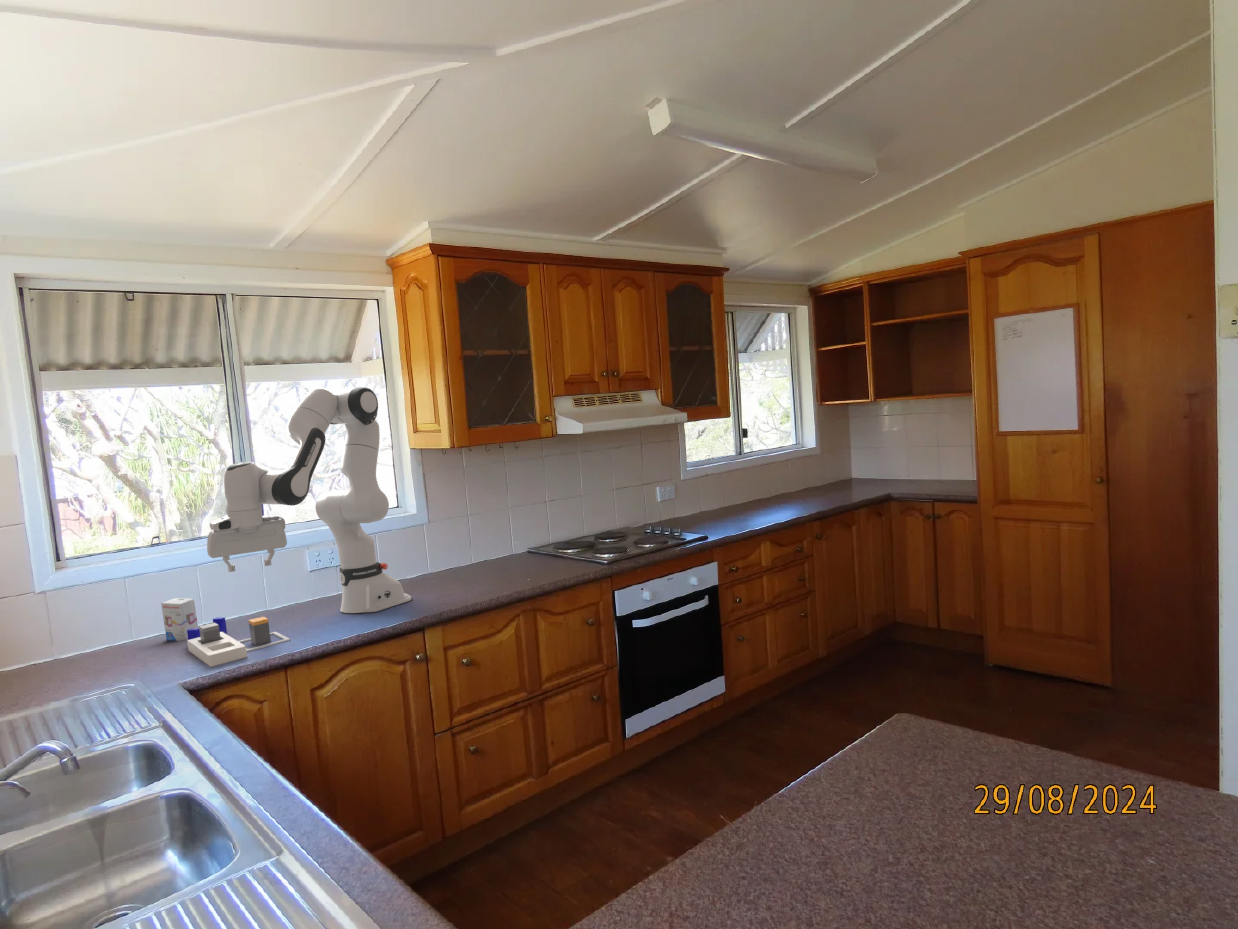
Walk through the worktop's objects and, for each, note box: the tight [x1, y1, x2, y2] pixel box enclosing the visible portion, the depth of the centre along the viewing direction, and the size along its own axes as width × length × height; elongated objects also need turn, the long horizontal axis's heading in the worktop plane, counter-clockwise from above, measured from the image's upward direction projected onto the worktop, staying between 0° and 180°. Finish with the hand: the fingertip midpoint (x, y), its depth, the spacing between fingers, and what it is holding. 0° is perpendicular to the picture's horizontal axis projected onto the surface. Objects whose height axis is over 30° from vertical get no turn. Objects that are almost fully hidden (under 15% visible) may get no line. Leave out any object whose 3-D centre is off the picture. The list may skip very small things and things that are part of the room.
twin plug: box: [198, 622, 221, 644], centre depth 214 cm, size 4×4×7 cm
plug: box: [248, 616, 272, 646], centre depth 218 cm, size 4×4×7 cm
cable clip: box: [187, 616, 228, 640], centre depth 225 cm, size 12×4×6 cm, turn 169°
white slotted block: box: [186, 632, 248, 668], centre depth 210 cm, size 9×22×4 cm, turn 42°
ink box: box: [160, 597, 199, 642], centre depth 232 cm, size 9×5×12 cm, turn 70°
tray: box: [237, 631, 291, 653], centre depth 218 cm, size 12×12×1 cm
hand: (250, 568), depth 217 cm, fingers open, 8 cm apart
